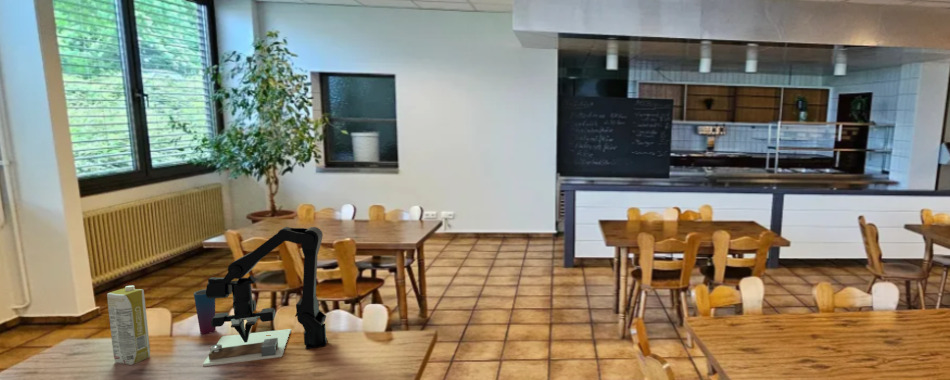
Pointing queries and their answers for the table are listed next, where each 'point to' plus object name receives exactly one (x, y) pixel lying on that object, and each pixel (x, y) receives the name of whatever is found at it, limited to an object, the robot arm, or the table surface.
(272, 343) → the keeper
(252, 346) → the link
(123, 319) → the juice carton
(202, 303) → the cup
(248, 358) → the base plate
